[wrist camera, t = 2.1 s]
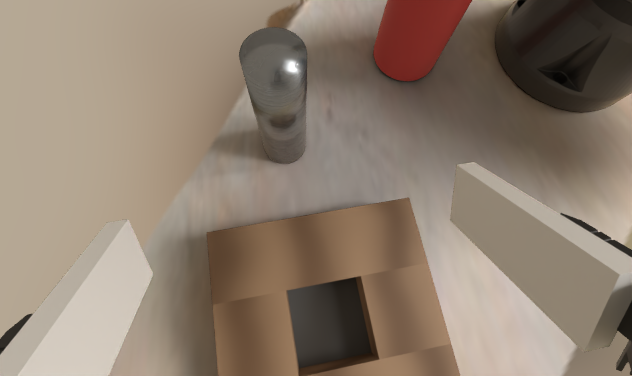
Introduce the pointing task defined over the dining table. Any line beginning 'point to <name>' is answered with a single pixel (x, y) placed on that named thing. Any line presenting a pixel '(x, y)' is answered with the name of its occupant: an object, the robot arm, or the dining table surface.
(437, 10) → the beer can
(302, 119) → the steel pin
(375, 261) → the socket block
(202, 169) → the dining table surface
